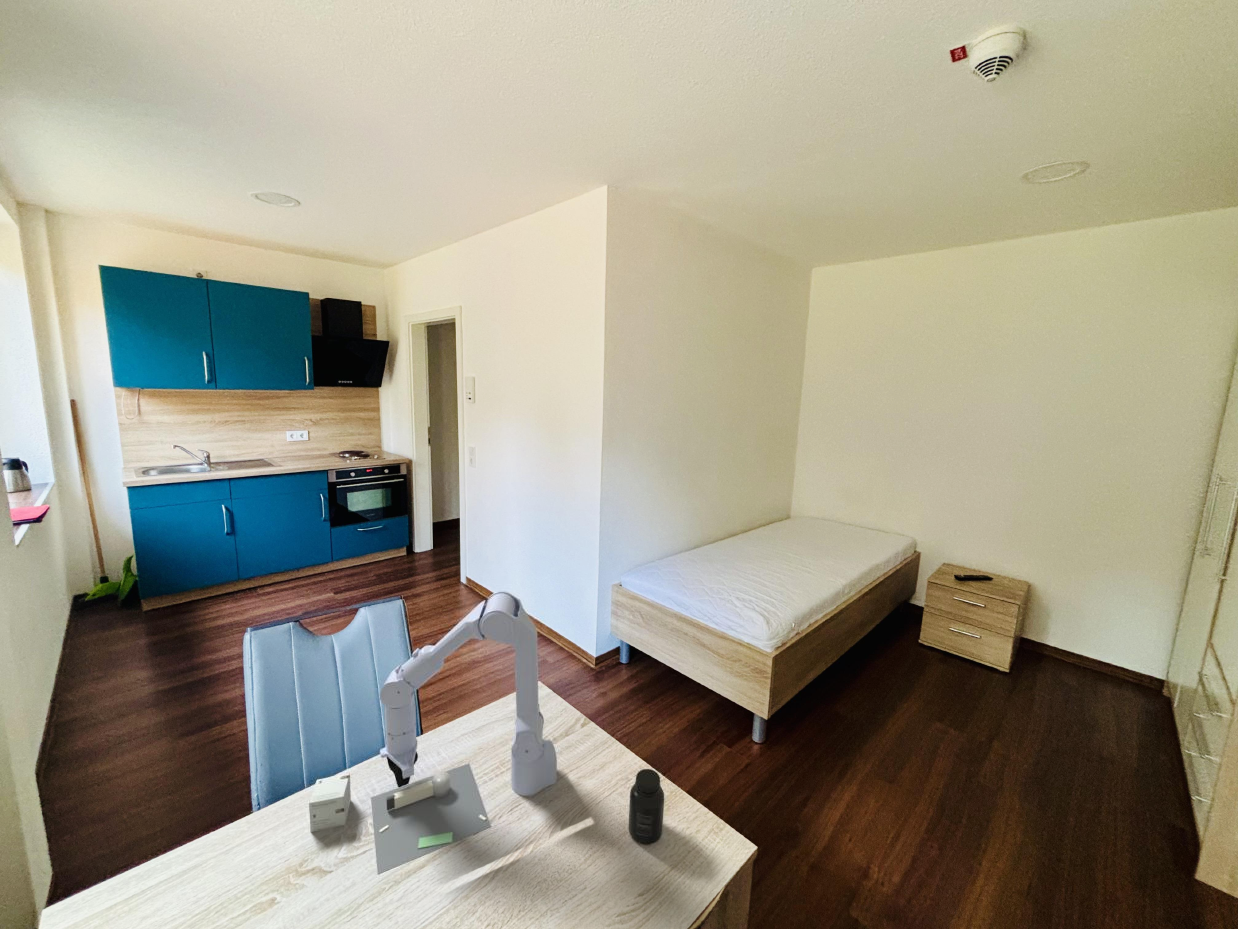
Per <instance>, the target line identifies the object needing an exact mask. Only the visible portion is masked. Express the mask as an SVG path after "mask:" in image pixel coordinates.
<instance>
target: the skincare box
mask: <svg viewBox="0 0 1238 929" xmlns="http://www.w3.org/2000/svg"><path fill="white" fill-rule="evenodd" d="M351 793H352V792H351V774H350V773H346V774H341V775H332V776H329V777H324V778H319V779H317V780H316V781H315V784H314V788H313V790H312V793H311V797H310V800H309V802H308V812H309V825H310V826H309V827H310V833H312V832H316V831H322V830H325V829H330V828H331V829H332V828H336V827H340V826H345V825H346V822H347V819H348V815H349V810H350V807H351V801H352V800H351V799H352V798H351V797H352V795H351Z"/></svg>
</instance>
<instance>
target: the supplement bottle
mask: <svg viewBox="0 0 1238 929" xmlns="http://www.w3.org/2000/svg"><path fill="white" fill-rule="evenodd" d="M628 810H629V811H628V832H629V835H630V837H631V838H632V839H633V841H635V842H636V843H638V844H640V845H644V846H649V845H653V844H656V843H657V842H658V841H659V840H660V839H661V837H662V835H663V828H664V827H663V826H664V813H665V812H664V811H665V792H664V789H663V788H662V786H661V777H660V775H659V773H658V772H657V771H655V770H654V769H652V768H651V769H650V768H644V769H640V770H639V771H637V773H636V775H635V783H633V785H632V786H631V788H630V792H629V807H628Z"/></svg>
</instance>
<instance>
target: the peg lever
mask: <svg viewBox="0 0 1238 929" xmlns="http://www.w3.org/2000/svg"><path fill="white" fill-rule="evenodd" d="M434 775H435V776H434ZM434 775H433V776H434V777H433V778H432V780H431V781H429V782H426V783H423V784H420V785H417V786H414V787H411V788H409V789H406V790H403V791H400V792H397V793H394V795H393V796H390V797H387V798H386V801H387V810H390V809H393V808H395V809H397V808H400V807H402V806H405V805H408V804H411V803H413V802H416V801H419V800H422V799H424V798H427V797H430V796H433V797H434V798H443V797H445V796H447V795H448V794H449V792H450V775H449V774H448V773H446V771H441V772H438V773H436V774H434Z"/></svg>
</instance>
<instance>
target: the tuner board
mask: <svg viewBox="0 0 1238 929" xmlns="http://www.w3.org/2000/svg"><path fill="white" fill-rule="evenodd" d="M470 764H471V763H466V764H464V765H460V766H457V767H454V768H451V769H449V770H446V771H445V772H446V773H448V774H449V775H450V792H449V794H448V795H447V796H445V797H443V798H434V797H433V796H430V797H427V798H424V799H422V800H419V801H416V802H413V803H411V804H408V805H405V806H402V807H400V808H397V809H395V808H393V809H390V810H387V801H386V798H387V797H390V796H393V795H394V793H397V792H400V791H403V790H406V789H409V788H411V787H414V786H417V785H420V784H423V783H426V782H429V781H431V780H432V778H433V777H434V776H435V775H436V774H434V775H431V776H429V777H425V778H422V779H421V780H417V781H414V782H411V783H408V784H407V785H404V786H402V787H397V788H394V789H391V790H389V791H385V792H383V793H380V794H377V795H373V796H372V797H370V801H371V811H372V812H371V815H372V824H373V825H372V826H373V835H374V845H375V846H374V847H375V848H374V849H375V858H376V860H375V861H376V869H377V870H376V872H377V875H380V874H382V873H384V872H385V873H386V872H387V871H390V870H391V869H394V868H396V867H400V866H401V865H404V864H406V863H409V862H411V861H414V860H415V859H418V858H421V857H422V856H423V857H424V856H425V855H427V854H430V853H432V852H434V851H437V850H440V849H441V848H444V847H447V846H448V845H451V844H453V843H456V842H458V841H462V840H464V839H466V838H468V837H470V836H473V835H475V834H477V833H479V832H482V831H484V830H487V829H489V828H491V827H492V826H491V822H490V819H489V817H488V813H487V811H486V808H485V805H484V803H483V799H482V795H481V794H480V790H479V787H478V784H477V782H476V779H475V777H474V773H473V771H472V767H471V765H470Z"/></svg>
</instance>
